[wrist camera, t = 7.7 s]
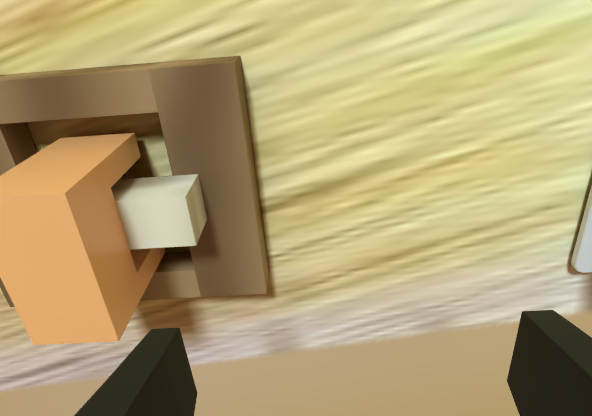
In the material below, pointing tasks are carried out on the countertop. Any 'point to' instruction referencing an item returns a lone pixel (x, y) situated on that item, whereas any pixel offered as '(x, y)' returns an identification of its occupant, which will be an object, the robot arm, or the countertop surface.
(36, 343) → the orange block
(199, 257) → the brown rectangular frame
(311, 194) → the countertop surface
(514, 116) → the countertop surface
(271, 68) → the countertop surface
